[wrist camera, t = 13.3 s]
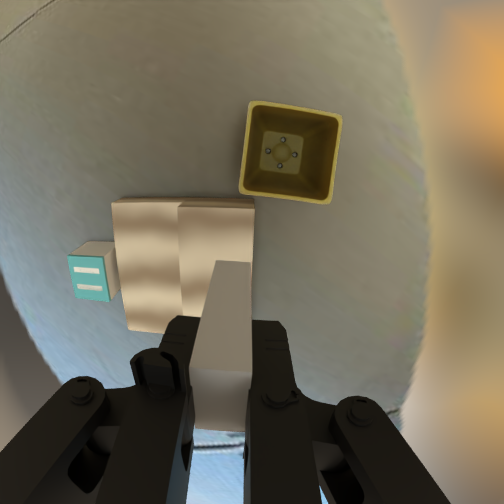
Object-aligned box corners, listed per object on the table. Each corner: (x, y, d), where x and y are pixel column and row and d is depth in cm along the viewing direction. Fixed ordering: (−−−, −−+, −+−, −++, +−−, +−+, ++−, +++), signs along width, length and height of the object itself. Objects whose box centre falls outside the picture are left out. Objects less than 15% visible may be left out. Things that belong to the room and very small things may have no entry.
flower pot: (248, 111, 31) (249, 98, 23) (320, 122, 32) (344, 114, 23) (240, 182, 34) (237, 193, 26) (311, 191, 35) (330, 206, 26)
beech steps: (122, 197, 35) (102, 207, 29) (253, 199, 35) (254, 209, 29) (136, 316, 41) (122, 339, 35) (248, 324, 41) (248, 350, 36)
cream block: (102, 257, 31) (121, 241, 37) (67, 255, 31) (88, 241, 37) (109, 301, 33) (125, 281, 39) (75, 297, 33) (94, 279, 39)
